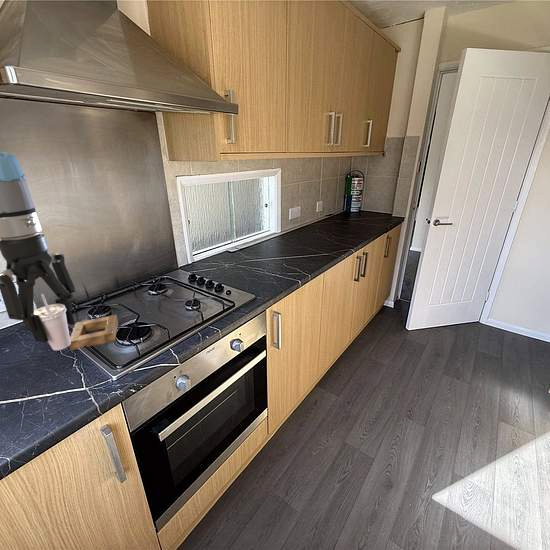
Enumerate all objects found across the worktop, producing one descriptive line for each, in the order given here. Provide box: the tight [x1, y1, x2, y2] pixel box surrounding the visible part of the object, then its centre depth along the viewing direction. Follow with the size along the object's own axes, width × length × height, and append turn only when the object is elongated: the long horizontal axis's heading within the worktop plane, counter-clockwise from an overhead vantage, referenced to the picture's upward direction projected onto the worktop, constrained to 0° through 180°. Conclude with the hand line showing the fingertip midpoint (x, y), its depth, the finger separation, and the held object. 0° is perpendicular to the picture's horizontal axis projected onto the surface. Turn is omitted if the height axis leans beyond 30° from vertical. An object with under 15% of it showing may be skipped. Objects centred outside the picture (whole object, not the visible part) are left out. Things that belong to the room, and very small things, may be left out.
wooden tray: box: [68, 314, 119, 351], centre depth 95 cm, size 12×12×3 cm
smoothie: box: [34, 292, 71, 351], centre depth 67 cm, size 6×6×14 cm
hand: (56, 331), depth 68 cm, fingers closed on smoothie, 6 cm apart
